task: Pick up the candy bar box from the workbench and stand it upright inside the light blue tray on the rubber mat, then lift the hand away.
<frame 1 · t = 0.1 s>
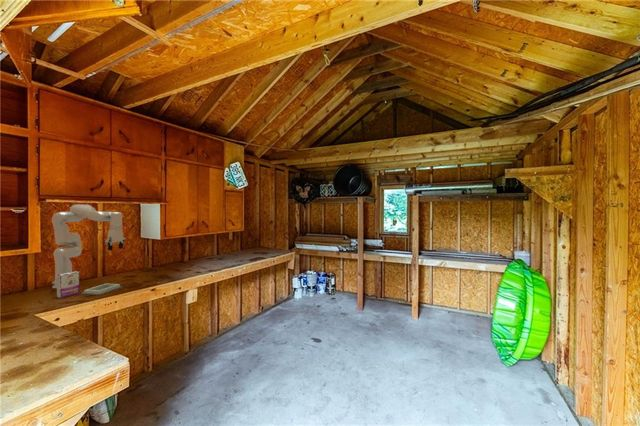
hand: (115, 249, 204), 31 cm above the worktop, tool pointing down, fingers open, 9 cm apart
light blue tray: (102, 288, 200), on the rubber mat, point 1 cm above the worktop
rubber mat: (102, 290, 201), on the worktop
candy bar box: (68, 295, 188), on the worktop
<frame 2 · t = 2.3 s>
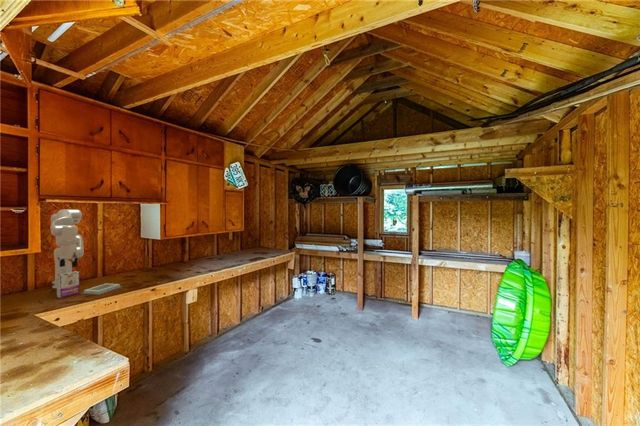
hand: (68, 266, 187), 21 cm above the worktop, tool pointing down, fingers open, 9 cm apart
nothing on the worktop moved.
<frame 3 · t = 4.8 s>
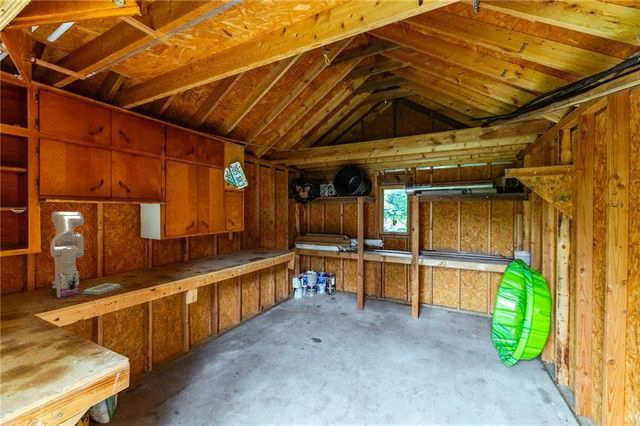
hand: (68, 289, 188), 5 cm above the worktop, tool pointing down, fingers closed on candy bar box, 5 cm apart
candy bar box: (68, 295, 188), on the worktop, touching gripper
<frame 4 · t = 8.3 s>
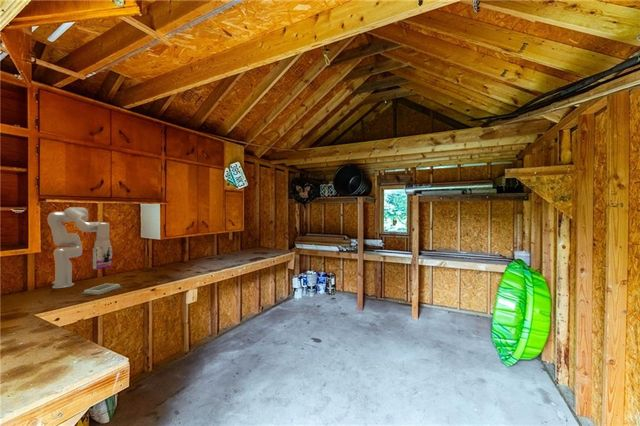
hand: (102, 261, 200), 22 cm above the worktop, tool pointing down, fingers closed on candy bar box, 5 cm apart
candy bar box: (102, 268, 200), point 17 cm above the worktop, touching gripper
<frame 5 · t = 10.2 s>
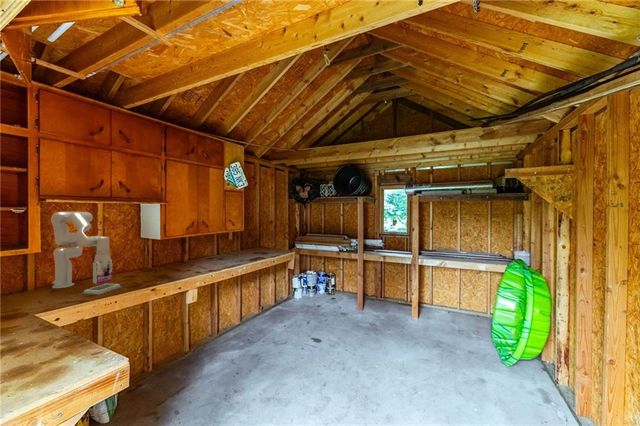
hand: (102, 275, 200), 11 cm above the worktop, tool pointing down, fingers closed on candy bar box, 5 cm apart
candy bar box: (102, 282, 200), point 6 cm above the worktop, touching gripper
when the fingers open (7 cm above the worktop, at t = 12.0 s): candy bar box drops 1 cm, resting on rubber mat.
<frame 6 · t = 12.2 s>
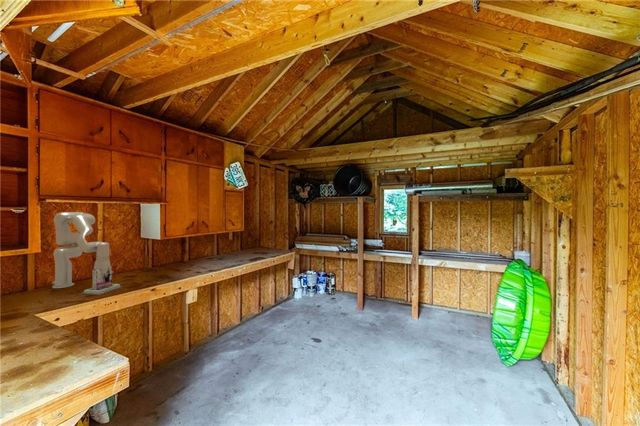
hand: (102, 281, 200), 7 cm above the worktop, tool pointing down, fingers open, 7 cm apart
candy bar box: (102, 289, 201), resting on rubber mat
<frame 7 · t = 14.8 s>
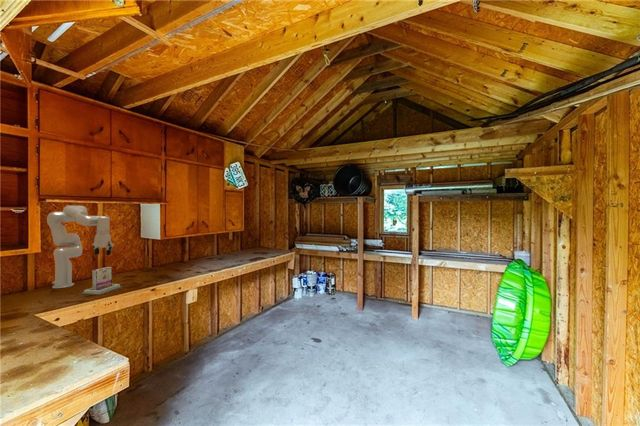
hand: (102, 254, 200), 28 cm above the worktop, tool pointing down, fingers open, 9 cm apart
nothing on the worktop moved.
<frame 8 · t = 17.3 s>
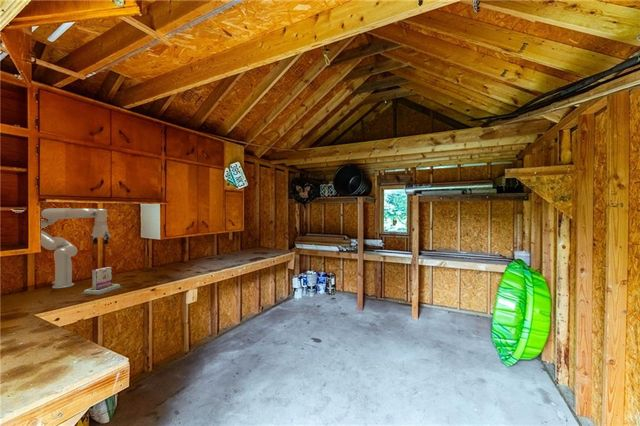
hand: (100, 244, 216), 33 cm above the worktop, tool pointing down, fingers open, 9 cm apart
nothing on the worktop moved.
at the end: candy bar box inside the target area on the light blue tray (0.4 cm from its centre), point 0.4 cm above the light blue tray's base; candy bar box tilted 0°; the gripper is holding nothing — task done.
